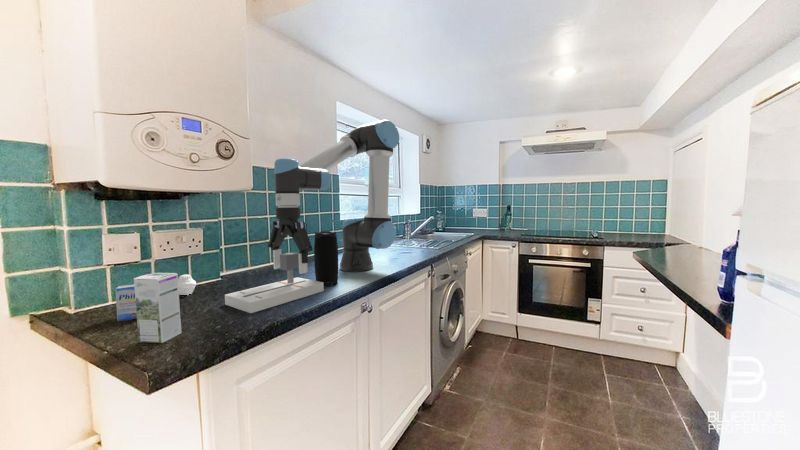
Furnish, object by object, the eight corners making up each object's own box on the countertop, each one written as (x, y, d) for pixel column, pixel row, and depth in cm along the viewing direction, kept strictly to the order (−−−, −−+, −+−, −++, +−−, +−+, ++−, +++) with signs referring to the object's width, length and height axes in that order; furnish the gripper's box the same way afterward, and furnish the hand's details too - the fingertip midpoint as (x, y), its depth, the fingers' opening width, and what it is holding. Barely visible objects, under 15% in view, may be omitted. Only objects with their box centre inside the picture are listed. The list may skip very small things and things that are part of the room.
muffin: (197, 295, 103) (196, 274, 103) (174, 298, 100) (173, 277, 99) (196, 290, 108) (194, 271, 108) (174, 294, 105) (173, 273, 104)
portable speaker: (315, 288, 110) (313, 233, 109) (315, 281, 119) (313, 231, 118) (339, 286, 112) (338, 232, 111) (338, 280, 121) (336, 230, 120)
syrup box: (182, 333, 73) (179, 271, 72) (161, 344, 67) (156, 277, 66) (160, 332, 73) (156, 271, 72) (136, 343, 67) (132, 277, 66)
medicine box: (116, 322, 80) (114, 288, 79) (120, 316, 84) (118, 285, 83) (155, 315, 84) (153, 284, 84) (157, 311, 88) (155, 281, 88)
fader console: (297, 285, 115) (297, 276, 114) (323, 290, 107) (323, 281, 106) (225, 304, 93) (224, 294, 93) (250, 313, 85) (250, 302, 85)
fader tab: (293, 280, 107) (292, 252, 106) (300, 282, 105) (299, 252, 104) (280, 283, 103) (279, 254, 102) (287, 285, 101) (286, 255, 100)
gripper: (255, 207, 106) (258, 268, 107) (303, 207, 92) (305, 277, 93) (275, 206, 112) (277, 264, 114) (322, 206, 98) (324, 272, 99)
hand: (290, 270), depth 103 cm, fingers open, 13 cm apart
